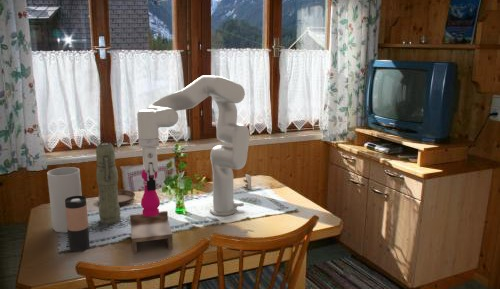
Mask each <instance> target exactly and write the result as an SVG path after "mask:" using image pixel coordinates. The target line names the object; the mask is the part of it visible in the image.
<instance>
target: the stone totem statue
mask: <svg viewBox="0 0 500 289" xmlns="http://www.w3.org/2000/svg"><path fill="white" fill-rule="evenodd" d="M95 156H96V164H97V165H96V171H95V174H96V184H97V187H98V197H99V199H98V201H99V207H98V212H99V221H100V223H101V224H102V225H113V224H117V223H119V222H120V221H121V207H120V206H121V205H119V203H118V190H119V189H118V184H119V176H118V174H119V173H118V172H119V171H118V169H117V167H116V165H117V164H116V152H115V148H114V145H113V143H111V142H102V143H98V144H97V146H96V150H95Z"/></svg>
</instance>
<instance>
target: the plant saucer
mask: <svg viewBox="0 0 500 289" xmlns="http://www.w3.org/2000/svg"><path fill="white" fill-rule="evenodd" d="M135 196H136V193H135V192H134V191H132V190H128V189H127V190H126V189H118V203H119V206H123V205H127V204H129V203H130V202H132V201H133V200H134V198H135ZM98 200H99V196H98Z"/></svg>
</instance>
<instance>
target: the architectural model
mask: <svg viewBox="0 0 500 289" xmlns="http://www.w3.org/2000/svg"><path fill="white" fill-rule="evenodd" d="M244 176H245V178H243V179H242V180H239V182H241V183H242V184H243V185H244V186H245V188H246V189H248V190H251V189H252V175H249V174H247V173H245V174H244Z"/></svg>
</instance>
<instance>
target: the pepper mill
mask: <svg viewBox="0 0 500 289" xmlns="http://www.w3.org/2000/svg"><path fill="white" fill-rule="evenodd" d="M148 172H150V171H148ZM154 172H155V170H154ZM149 175H150V174H149ZM141 178H142V181H143V182H142V183H143V186H144V190H143V191H144V193H143V195H142V198H141V201H140V205H141V207H142V208H143V209H142V213H143V215H144V216H156V215H158V214H159V212H160V209H159V207H160V205H161V200H160V197H159V196H158V195H159V194H158V193H157V191H156V190H157V189H156V190H151V191H148V190H147V173H145V169H143V170H142V171H141ZM157 178H158V173H157V172H155V181H156V182H157Z"/></svg>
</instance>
